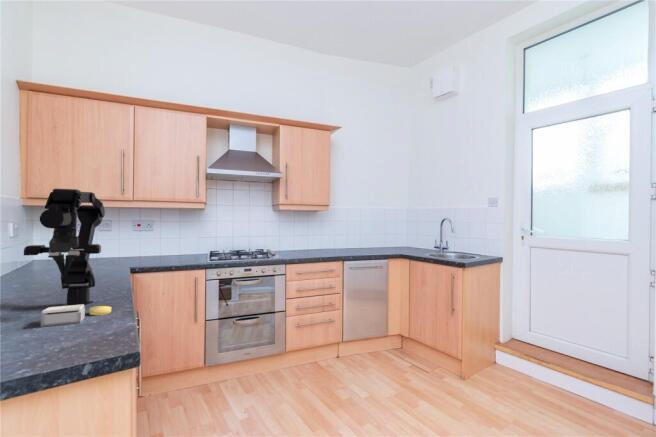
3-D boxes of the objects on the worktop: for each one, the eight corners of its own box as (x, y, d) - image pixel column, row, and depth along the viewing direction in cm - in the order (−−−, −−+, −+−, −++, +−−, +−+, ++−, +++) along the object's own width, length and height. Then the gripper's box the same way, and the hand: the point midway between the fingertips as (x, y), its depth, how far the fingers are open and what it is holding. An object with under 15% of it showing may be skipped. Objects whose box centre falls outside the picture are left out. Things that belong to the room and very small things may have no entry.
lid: (48, 309, 98) (48, 307, 98) (83, 306, 102) (84, 304, 102) (42, 313, 92) (42, 311, 92) (79, 310, 96) (80, 307, 96)
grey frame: (47, 320, 98) (47, 309, 98) (84, 316, 103) (84, 306, 103) (40, 327, 92) (41, 315, 92) (80, 322, 96) (80, 311, 96)
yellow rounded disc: (114, 313, 107) (114, 308, 107) (92, 316, 102) (93, 311, 103) (106, 310, 111) (107, 305, 111) (85, 312, 106) (86, 307, 106)
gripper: (17, 228, 94) (16, 283, 93) (97, 228, 103) (95, 278, 102) (30, 227, 103) (28, 277, 103) (101, 227, 112) (100, 273, 112)
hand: (64, 276), depth 105 cm, fingers closed
